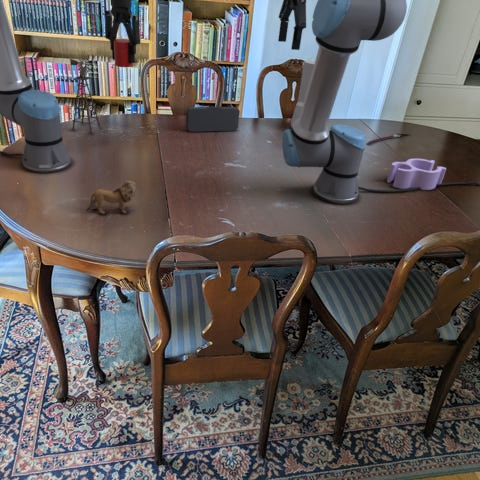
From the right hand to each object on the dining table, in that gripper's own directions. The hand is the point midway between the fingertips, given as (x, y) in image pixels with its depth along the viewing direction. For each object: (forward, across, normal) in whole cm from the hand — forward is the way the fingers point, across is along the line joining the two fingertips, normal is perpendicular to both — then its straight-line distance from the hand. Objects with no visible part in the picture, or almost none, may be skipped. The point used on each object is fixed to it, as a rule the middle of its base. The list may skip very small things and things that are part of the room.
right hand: (288, 45), depth 164 cm
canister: (+16, -30, -55) cm, 65 cm away
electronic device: (+41, -27, +24) cm, 54 cm away
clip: (+41, +30, +45) cm, 68 cm away
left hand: (+14, -30, -55) cm, 65 cm away
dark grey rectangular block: (+41, -26, -19) cm, 52 cm away
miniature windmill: (+41, -29, -71) cm, 87 cm away
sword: (+41, -13, +61) cm, 74 cm away
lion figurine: (+41, +39, -64) cm, 85 cm away
